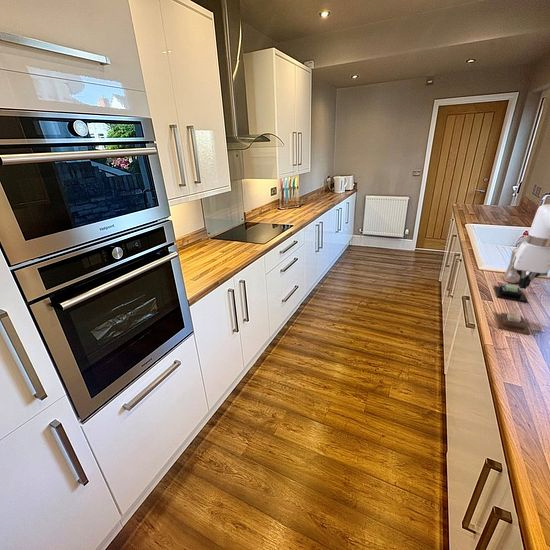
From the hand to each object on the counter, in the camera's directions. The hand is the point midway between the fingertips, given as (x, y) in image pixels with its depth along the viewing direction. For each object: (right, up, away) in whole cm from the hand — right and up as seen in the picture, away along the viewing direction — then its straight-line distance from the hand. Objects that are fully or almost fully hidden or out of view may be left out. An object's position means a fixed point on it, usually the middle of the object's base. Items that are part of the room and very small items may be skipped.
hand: (522, 287), depth 109 cm
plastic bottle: (+21, +1, +31) cm, 38 cm away
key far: (+11, -2, +19) cm, 22 cm away
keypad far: (+11, -4, +20) cm, 23 cm away
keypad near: (-5, -14, 0) cm, 15 cm away
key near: (-5, -12, -1) cm, 13 cm away
